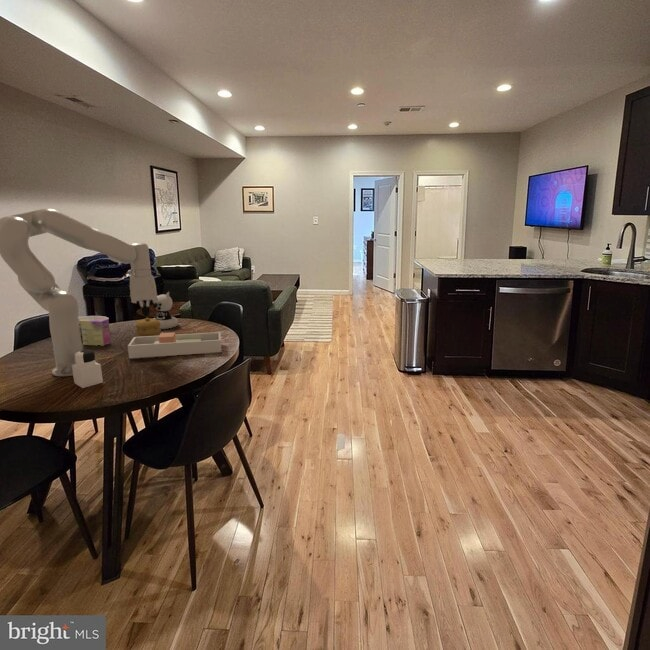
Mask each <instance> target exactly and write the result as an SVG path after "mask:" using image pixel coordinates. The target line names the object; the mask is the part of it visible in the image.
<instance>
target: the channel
mask: <svg viewBox="0 0 650 650" xmlns="http://www.w3.org/2000/svg"><path fill="white" fill-rule="evenodd" d="M159 336H160V335H158V336H143V337H139V336H134V337H132V339H131V341H130V342H129V343H128V344H127V353H128V359H129V360H140V358H143V359H155V357H158V358H167V357H166V356H173V357H178V356H177V355H187V356H191V355H190V354H202V355H206V354H205V353H217V354H221V353H220V352H222V353H223V350H222V348H221V347H222V332H221V331H218V332H217V331H215V332H201V333H199V332H198V333H182V334H181V333H180V334H175V339H176V341H175V342H172V343H159Z"/></svg>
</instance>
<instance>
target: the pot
mask: <svg viewBox="0 0 650 650" xmlns="http://www.w3.org/2000/svg"><path fill="white" fill-rule="evenodd" d="M135 328H136V330H135V333H136V334H137V337H143V336H160V334H161V333H162V332H161V331H162V329H161V328H160V322H159V321H158V320H157V319H153V318H150V317H146V318H143V319H140V320H138V321H136V323H135Z"/></svg>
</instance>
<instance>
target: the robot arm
mask: <svg viewBox="0 0 650 650" xmlns="http://www.w3.org/2000/svg"><path fill="white" fill-rule="evenodd" d="M46 233H48V234H51V235H52V236H55V237H57V238H60V239H62V240H64V241H65V242H68V243H71V244H73V245H75V246H77V247H80V248H82V249H86V250H90V251H93V252H98V253H99V254H103V255H106V256H107V257H108V259H109V260H111V261H112V262H115V263H121V264H125V265H126V264H130V270H127V275H131V276H130V277H129V291H130V292H129V295H130V299H131V300H130V302H131V303H133V304H137V305H138V306H140V307H141V314H142V315H143V316H144V317H149V315H150V314H151V308H150V307H151V305H153V304H154V302H157V301H158V298H157V296H158V292H157V285H156V280H155V277H154V275H152V269H151V259H150V251H149V245H148V244H147V243H146V242H145V243H144V242H136V243H135V242H134V243H127V242H125V241H123V240H120V239H119V238H117V237H114V236H112V235H110V234H107V233H106V232H103V231H101V230H99V229H96V228H94V227H92V226H89V225H87V224H86V223H83V222H81V221H79V220H77V219H75V218H73V217H70V216H69V215H67V214H65V213H63V212H61V211H58V210H56V209H53V208H42V209H40V208H39V209H36V210H33V211H29V212H23V213H17V214H13V215H7V216H2V217H1V218H0V256H1V258H2V259H3V261H4V262H5V263H6V265H7V266H8V267H9V268H10V269H11V270H12V272H13V273H14V274H15V275H16V276H17V281H18V283H19V285H20V286H21V287H22V288H23V290H24V291H25V292H26V293H27V294H28V295H29V296H30V297H31V298H32V299H33V300H34V301H35V302H36V303H37V304H38V305H39V306H40V307H41V308H42V309H43V310H45V311H46V312H48V316H49V317H48V318H49V320H48V322H49V323H48V324H49V332H50V336H51V342H52V348H53V356H54V360H55V361H54V362H55V363H54V364H55V367H54V368H53V369H52V370H51V374H52V375H53V376H55V377H73V370H72V365H74V364H76V359H75V354H76V353H77V352H79V351H83V350H84V349H83V340H82V337H81V334H80V328H79V318H78V317H79V303H78V300H77V298H76V297H75V296H74V295H73V294H72V293H71V292H69V291H67V290H64V289H62V288H61V287H60V286H58V284H57V283H56V278H55V277H54V274H53V273H52V272H51V271H50V270H49V268H47V267H46V266H45V265H44V264H43V263H42V262H41V261H40V259H38V257H37V256H36V255H35V254H34V252H33V251H32V250H31V248H30V246H29V239H30V237H35V236H36V237H37V236H39V235H43V234H46ZM144 301H146V303H145V302H144Z"/></svg>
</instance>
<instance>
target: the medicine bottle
mask: <svg viewBox="0 0 650 650" xmlns="http://www.w3.org/2000/svg"><path fill="white" fill-rule="evenodd" d="M75 359H76V364H74V365H72V370H73V375H72V377H73V383H74V384H75V385H76V386H79V387H80V388H81V389H85V388H88V387H93V386H95V385H99V384H103V383H104V380H103V372H102V365H101V363H98V362H96V355H95V351H93V350H91V349H85V350H84V349H83V351H79V352H77V353H76V354H75Z"/></svg>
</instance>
